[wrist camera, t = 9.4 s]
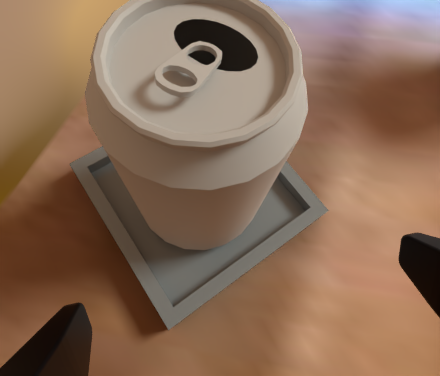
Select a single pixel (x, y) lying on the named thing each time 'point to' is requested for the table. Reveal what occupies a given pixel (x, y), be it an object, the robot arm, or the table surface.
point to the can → (197, 111)
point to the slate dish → (187, 258)
